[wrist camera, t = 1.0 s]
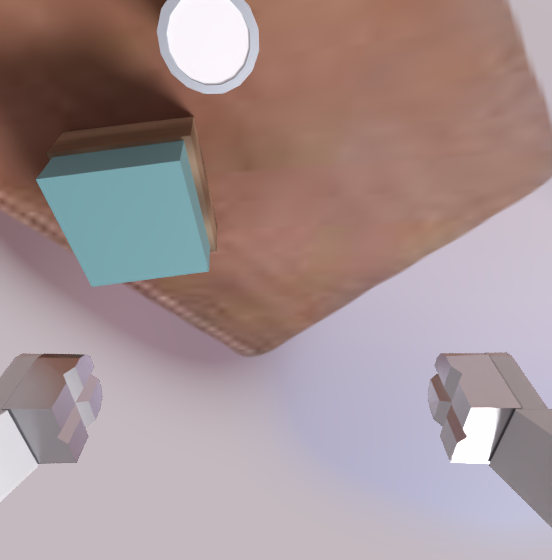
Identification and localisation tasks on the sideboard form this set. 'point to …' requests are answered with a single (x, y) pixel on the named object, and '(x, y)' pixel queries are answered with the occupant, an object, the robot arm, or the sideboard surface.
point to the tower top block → (129, 212)
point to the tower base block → (139, 137)
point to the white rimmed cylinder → (208, 42)
